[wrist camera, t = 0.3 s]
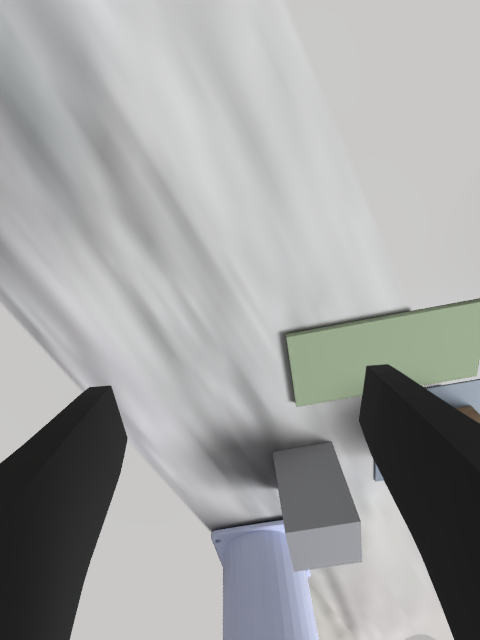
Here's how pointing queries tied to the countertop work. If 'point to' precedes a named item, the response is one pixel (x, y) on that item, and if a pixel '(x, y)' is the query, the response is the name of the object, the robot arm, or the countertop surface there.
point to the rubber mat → (385, 350)
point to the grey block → (317, 508)
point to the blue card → (453, 400)
